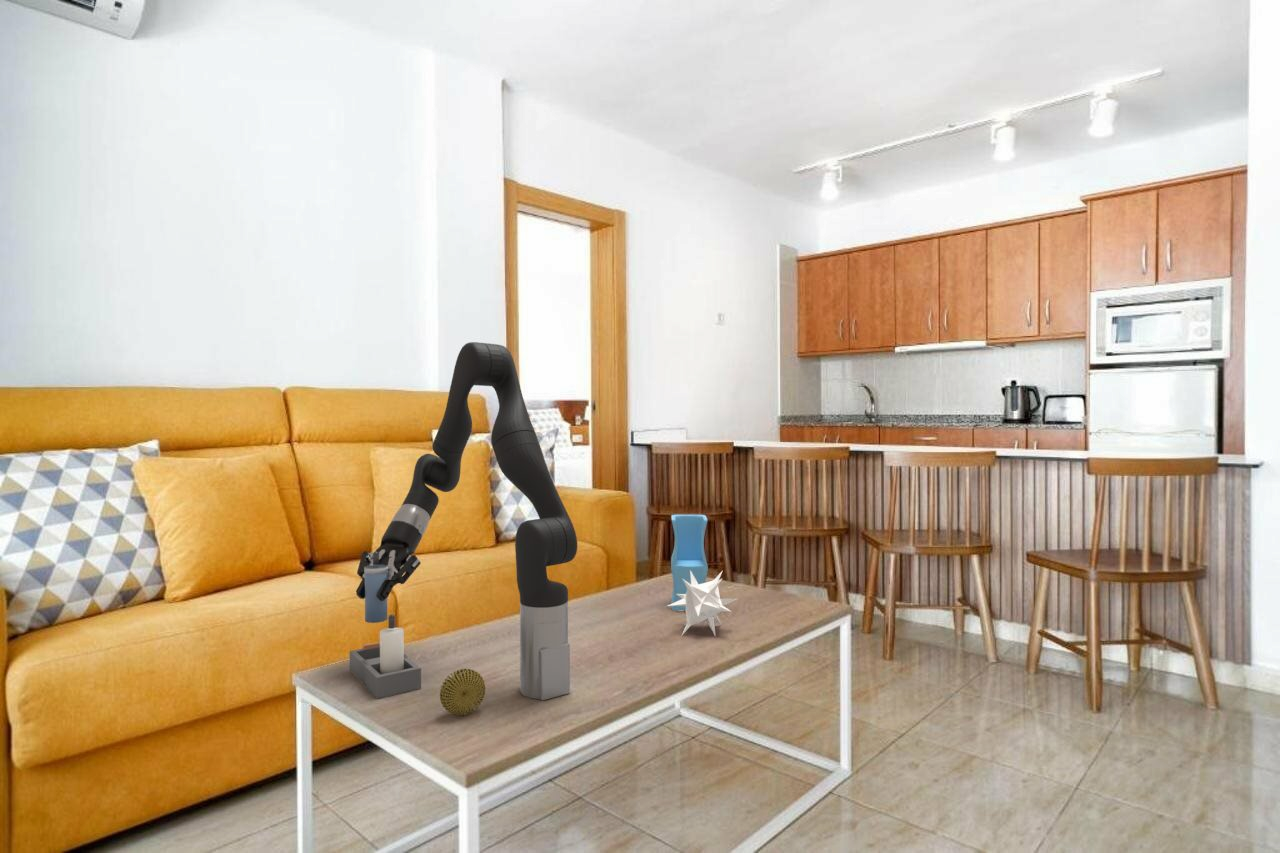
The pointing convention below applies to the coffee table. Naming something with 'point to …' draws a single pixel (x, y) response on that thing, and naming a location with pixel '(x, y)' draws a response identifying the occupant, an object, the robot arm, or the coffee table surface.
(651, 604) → the coffee table surface
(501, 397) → the robot arm
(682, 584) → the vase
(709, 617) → the star ornament
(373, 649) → the gray two-compartment caddy
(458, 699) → the sculpture
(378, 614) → the canister
